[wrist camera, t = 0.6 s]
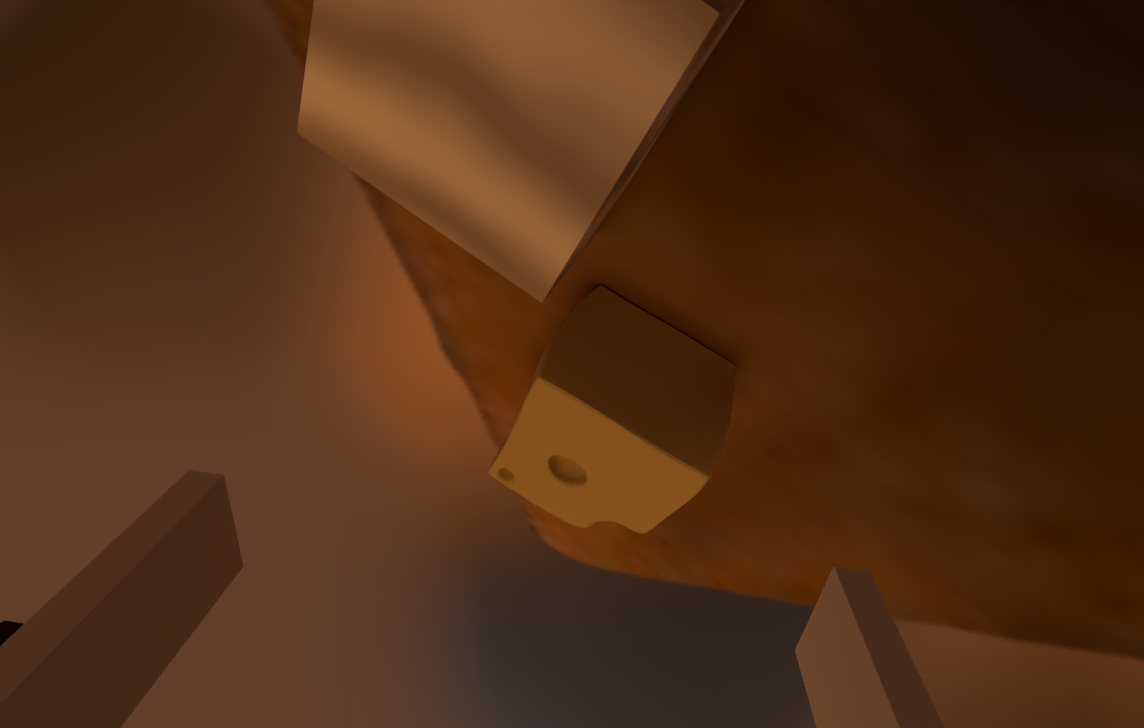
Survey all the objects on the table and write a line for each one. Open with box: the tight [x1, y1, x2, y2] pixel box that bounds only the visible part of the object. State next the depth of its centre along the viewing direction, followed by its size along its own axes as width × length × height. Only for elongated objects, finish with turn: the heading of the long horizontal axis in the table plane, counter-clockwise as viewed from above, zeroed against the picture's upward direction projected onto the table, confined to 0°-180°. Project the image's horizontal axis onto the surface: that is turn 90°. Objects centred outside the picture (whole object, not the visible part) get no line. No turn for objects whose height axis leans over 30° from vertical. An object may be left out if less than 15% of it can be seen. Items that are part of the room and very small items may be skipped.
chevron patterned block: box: [297, 0, 745, 303], centre depth 26 cm, size 14×14×8 cm
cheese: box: [488, 285, 734, 533], centre depth 35 cm, size 10×11×10 cm
